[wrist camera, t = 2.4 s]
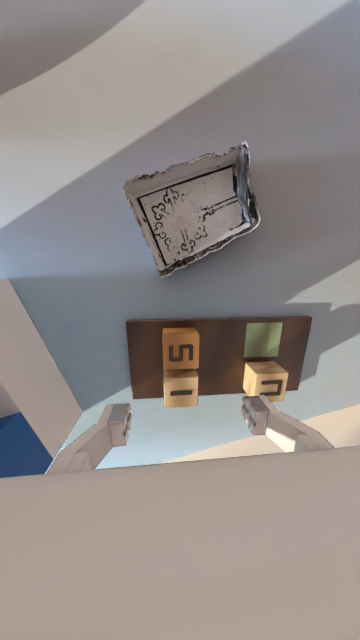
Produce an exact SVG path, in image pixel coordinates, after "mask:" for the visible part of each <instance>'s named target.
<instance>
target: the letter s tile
mask: <svg viewBox="0 0 360 640" xmlns="http://www.w3.org/2000/svg"><path fill="white" fill-rule="evenodd" d="M162 346H163V370H168V369H192V368H199V334H198V332H197V330H196V328H195V327H191V328H163V333H162Z"/></svg>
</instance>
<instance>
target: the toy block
mask: <svg viewBox="0 0 360 640" xmlns="http://www.w3.org/2000/svg"><path fill="white" fill-rule="evenodd" d="M82 413H83V411H82V409H81V407H80V405H79V404H78V402H77V400H76V398H75V397H74V395H73V393H72V391H71V389H70V388H69V386H68V384H67V382H66V381H65V379H64V377H63V375H62V373H61V372H60V370H59V368H58V366H57V364H56V363H55V361H54V359H53V357H52V356H51V354H50V352H49V350H48V348H47V347H46V345H45V343H44V341H43V340H42V338H41V336H40V334H39V332H38V331H37V329H36V327H35V325H34V324H33V322H32V320H31V318H30V316H29V315H28V313H27V311H26V309H25V308H24V306H23V304H22V302H21V300H20V299H19V297H18V295H17V293H16V292H15V290H14V288H13V286H12V284H11V283H10V281H9V279H8V278H0V478H6V477H17V476H28V475H39V474H45V472H46V470H47V469H48V467H49V466H50V464H51V462H52V461H53V459H54V458H55V456H56V454H57V453H58V451H59V450H60V448H61V446H62V445H63V443H64V442H65V440H66V438H67V437H68V435H69V434H70V432H71V430H72V429H73V427H74V425H75V424H76V422H77V421H78V419H79V417H80V416H81V414H82Z"/></svg>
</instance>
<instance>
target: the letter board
mask: <svg viewBox="0 0 360 640" xmlns="http://www.w3.org/2000/svg"><path fill="white" fill-rule="evenodd" d="M311 321H312V317H308V316H290V317H242V318H194V319H146V320H127V321H126V327H127V338H128V350H129V362H130V373H131V385H132V396H133V399H144V398H162V397H164V407H165V408H170V407H188V406H197V405H198V396H199V395H218V394H237V393H247V395H248V396H257V395H265V396H266V397H267V399H268V400H269V401H270V402H275V401H284V396H285V391H292V390H298V386H299V381H300V376H301V371H302V366H303V361H304V356H305V351H306V346H307V341H308V336H309V331H310V326H311ZM191 327H195V328H196V330H197V332H198V334H199V368H192V369H168V370H163V346H162V333H163V328H191Z"/></svg>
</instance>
